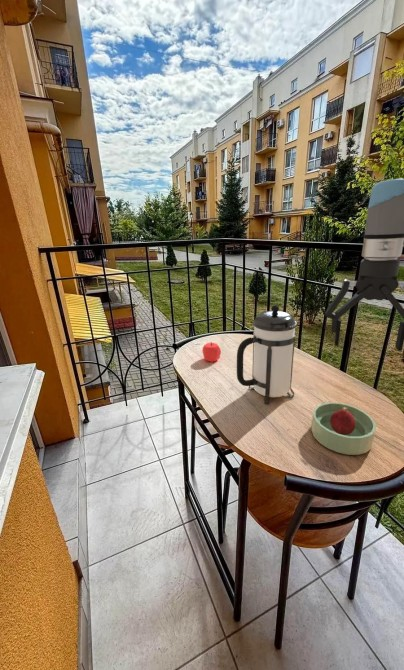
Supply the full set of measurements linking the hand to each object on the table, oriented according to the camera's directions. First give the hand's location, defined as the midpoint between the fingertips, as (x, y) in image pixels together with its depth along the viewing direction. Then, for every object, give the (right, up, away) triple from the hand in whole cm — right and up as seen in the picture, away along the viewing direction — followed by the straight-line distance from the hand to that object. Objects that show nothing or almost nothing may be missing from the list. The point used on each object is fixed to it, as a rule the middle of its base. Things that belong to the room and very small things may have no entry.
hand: (366, 346), depth 70 cm
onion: (-5, -23, +3) cm, 24 cm away
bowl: (-5, -24, +3) cm, 24 cm away
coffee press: (-19, -17, +23) cm, 34 cm away
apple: (-37, -8, +49) cm, 62 cm away
